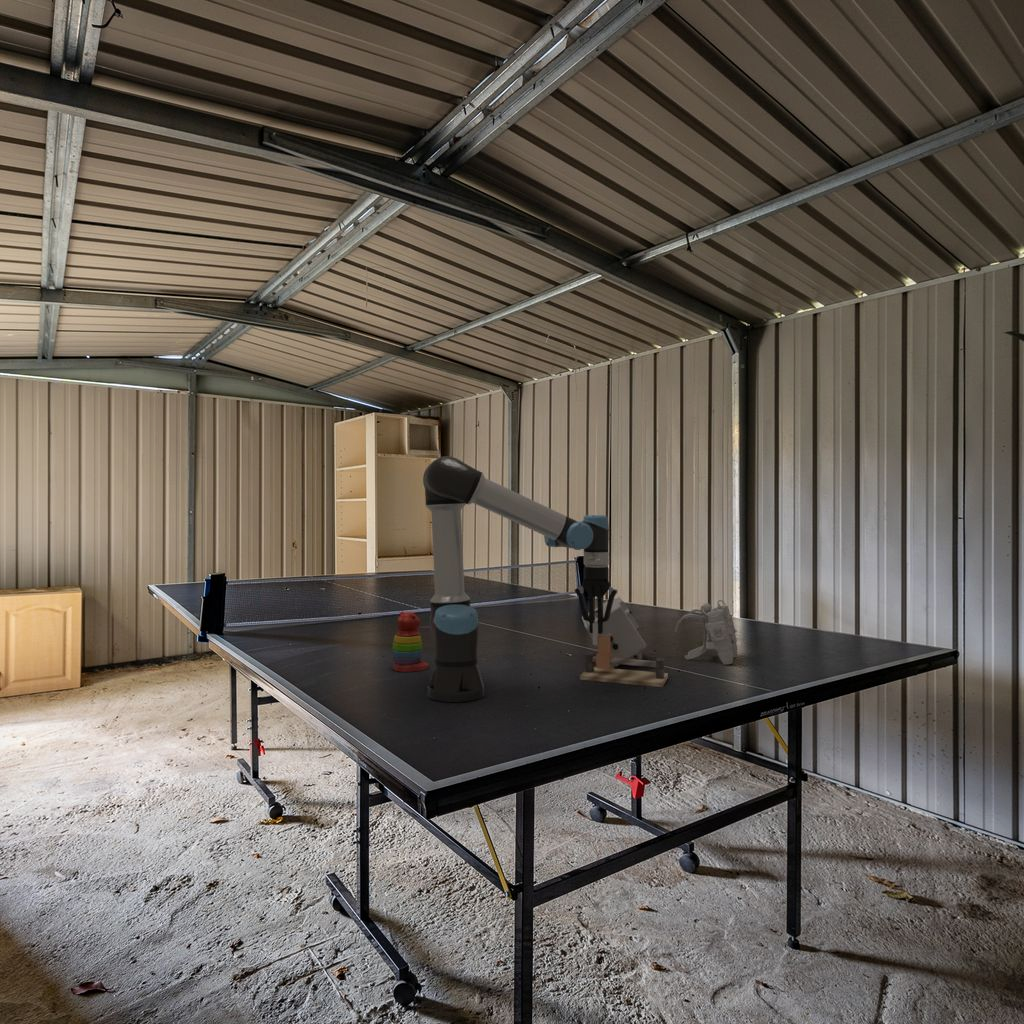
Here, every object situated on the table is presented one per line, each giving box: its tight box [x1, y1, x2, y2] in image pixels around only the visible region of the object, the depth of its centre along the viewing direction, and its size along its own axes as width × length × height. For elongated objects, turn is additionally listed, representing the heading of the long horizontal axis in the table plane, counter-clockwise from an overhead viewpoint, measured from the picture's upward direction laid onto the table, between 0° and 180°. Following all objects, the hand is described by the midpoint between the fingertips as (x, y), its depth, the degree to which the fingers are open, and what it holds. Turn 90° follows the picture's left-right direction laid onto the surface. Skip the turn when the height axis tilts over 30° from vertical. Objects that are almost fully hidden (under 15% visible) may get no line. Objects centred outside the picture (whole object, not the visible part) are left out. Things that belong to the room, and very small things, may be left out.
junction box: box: [581, 596, 647, 669], centre depth 216 cm, size 24×15×22 cm
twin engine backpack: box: [674, 599, 738, 665], centre depth 221 cm, size 18×19×20 cm
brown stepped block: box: [595, 635, 612, 669], centre depth 197 cm, size 4×4×9 cm
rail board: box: [579, 652, 669, 688], centre depth 195 cm, size 24×12×6 cm, turn 70°
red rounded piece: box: [391, 611, 430, 673], centre depth 207 cm, size 11×10×18 cm
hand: (596, 644), depth 198 cm, fingers closed
